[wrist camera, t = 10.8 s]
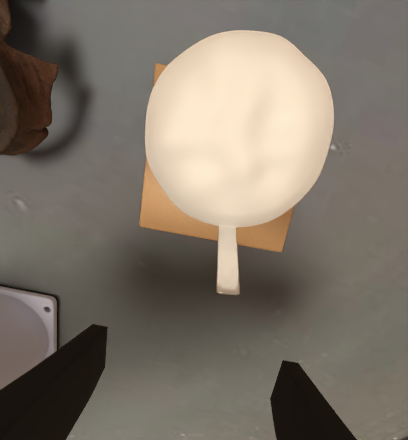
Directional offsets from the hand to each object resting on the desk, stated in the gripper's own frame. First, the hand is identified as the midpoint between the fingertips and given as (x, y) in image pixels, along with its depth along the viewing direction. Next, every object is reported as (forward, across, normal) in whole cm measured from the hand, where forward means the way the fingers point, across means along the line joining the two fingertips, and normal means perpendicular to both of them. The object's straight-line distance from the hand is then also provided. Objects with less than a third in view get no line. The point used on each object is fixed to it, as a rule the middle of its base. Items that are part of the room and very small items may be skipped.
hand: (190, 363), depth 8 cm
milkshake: (+7, 0, -8) cm, 11 cm away
